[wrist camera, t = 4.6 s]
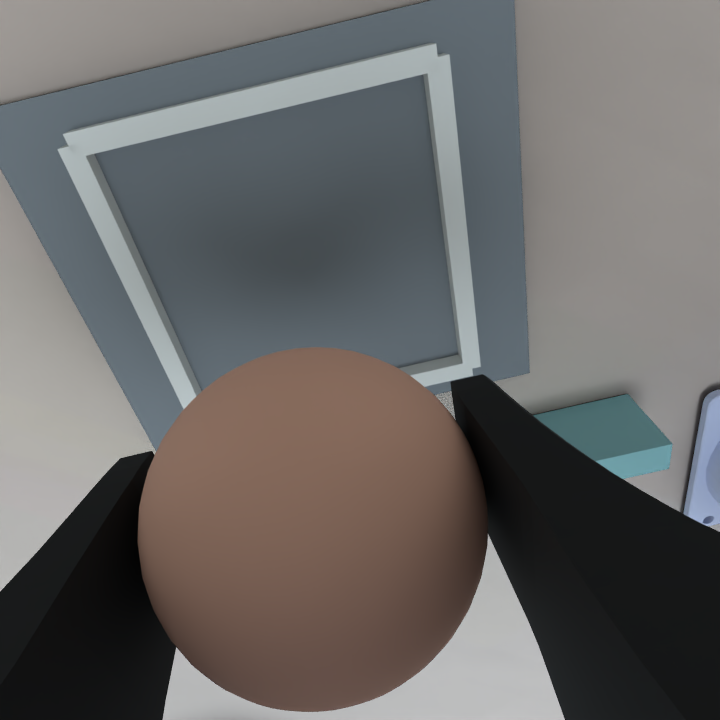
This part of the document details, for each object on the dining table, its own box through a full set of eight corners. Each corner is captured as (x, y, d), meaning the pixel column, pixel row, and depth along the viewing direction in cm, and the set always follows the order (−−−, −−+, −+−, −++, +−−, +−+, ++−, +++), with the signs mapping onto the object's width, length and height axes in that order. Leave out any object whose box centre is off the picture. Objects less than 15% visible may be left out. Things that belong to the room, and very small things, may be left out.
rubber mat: (508, -19, 14) (522, -22, 13) (525, 366, 20) (535, 382, 19) (-23, 111, 14) (-43, 116, 13) (161, 450, 20) (156, 468, 20)
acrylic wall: (627, 394, 21) (672, 443, 19) (625, 417, 22) (668, 468, 19) (137, 504, 22) (116, 568, 19) (149, 524, 22) (131, 588, 20)
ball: (422, 260, 10) (539, 476, 5) (456, 475, 13) (549, 737, 8) (127, 330, 10) (-21, 605, 5) (228, 528, 13) (191, 815, 8)
